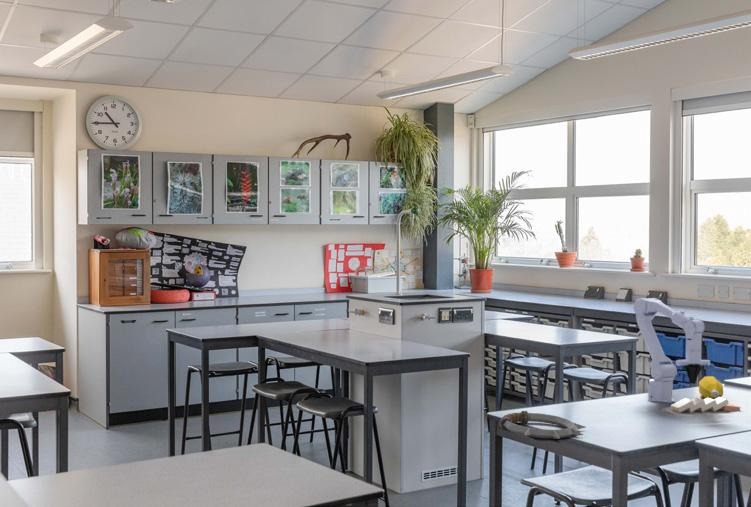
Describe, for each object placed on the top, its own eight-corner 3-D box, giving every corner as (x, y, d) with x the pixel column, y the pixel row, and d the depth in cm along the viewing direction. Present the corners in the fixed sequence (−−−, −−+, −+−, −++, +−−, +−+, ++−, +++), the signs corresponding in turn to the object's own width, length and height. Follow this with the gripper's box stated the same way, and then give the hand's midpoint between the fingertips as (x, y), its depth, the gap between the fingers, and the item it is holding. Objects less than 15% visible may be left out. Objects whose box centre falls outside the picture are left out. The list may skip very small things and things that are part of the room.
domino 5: (716, 407, 334) (731, 409, 336) (724, 410, 330) (739, 412, 331) (716, 402, 334) (731, 404, 336) (725, 405, 330) (740, 407, 331)
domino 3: (700, 407, 327) (715, 399, 328) (693, 404, 332) (707, 397, 333) (702, 411, 327) (717, 404, 329) (694, 409, 332) (709, 401, 333)
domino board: (672, 415, 322) (672, 413, 322) (660, 411, 330) (660, 409, 330) (730, 413, 329) (730, 411, 328) (717, 409, 336) (717, 407, 336)
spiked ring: (481, 432, 287) (562, 451, 269) (481, 419, 287) (563, 437, 269) (525, 416, 314) (602, 432, 296) (526, 404, 314) (603, 420, 296)
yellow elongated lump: (709, 411, 344) (698, 388, 345) (701, 397, 372) (690, 377, 373) (733, 401, 341) (722, 379, 342) (722, 389, 370) (712, 368, 371)
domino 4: (712, 406, 328) (727, 399, 330) (704, 404, 333) (719, 396, 334) (714, 411, 328) (728, 403, 330) (706, 408, 333) (720, 401, 335)
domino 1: (678, 408, 324) (692, 400, 326) (670, 405, 329) (685, 397, 331) (679, 412, 325) (694, 404, 326) (672, 409, 330) (686, 402, 331)
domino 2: (689, 407, 326) (704, 400, 327) (681, 405, 330) (696, 397, 332) (691, 412, 326) (705, 404, 327) (683, 409, 331) (697, 402, 332)
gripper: (683, 351, 332) (682, 385, 332) (715, 350, 335) (714, 384, 336) (673, 348, 339) (672, 382, 339) (704, 348, 342) (703, 381, 342)
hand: (692, 383), depth 338 cm, fingers closed
